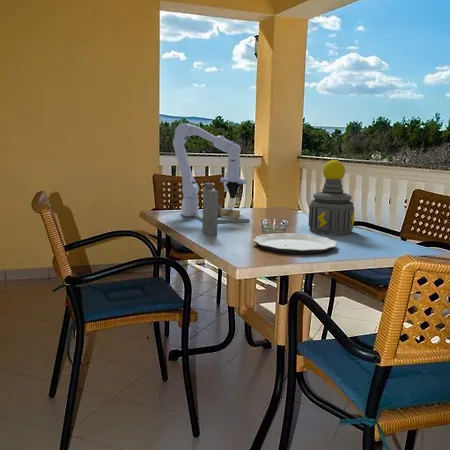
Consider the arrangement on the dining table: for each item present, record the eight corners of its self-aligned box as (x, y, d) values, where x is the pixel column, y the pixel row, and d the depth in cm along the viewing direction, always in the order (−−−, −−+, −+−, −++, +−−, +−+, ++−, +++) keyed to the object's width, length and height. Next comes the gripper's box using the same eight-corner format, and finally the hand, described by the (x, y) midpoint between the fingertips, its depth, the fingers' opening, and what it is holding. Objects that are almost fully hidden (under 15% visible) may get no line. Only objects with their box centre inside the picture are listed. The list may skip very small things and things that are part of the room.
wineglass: (219, 212, 264) (220, 171, 260) (235, 211, 268) (236, 171, 264) (226, 215, 256) (228, 172, 253) (242, 214, 260) (243, 172, 256)
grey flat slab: (193, 216, 248) (193, 213, 248) (236, 215, 256) (236, 212, 255) (205, 223, 230) (205, 219, 230) (251, 222, 237) (251, 218, 237)
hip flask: (217, 236, 202) (219, 184, 198) (207, 236, 201) (208, 184, 197) (209, 228, 217) (210, 181, 214) (199, 229, 216) (200, 181, 213)
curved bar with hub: (201, 214, 244) (202, 203, 243) (208, 213, 248) (208, 202, 247) (236, 218, 234) (236, 207, 233) (241, 217, 238) (242, 206, 237)
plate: (271, 258, 168) (271, 251, 168) (243, 240, 196) (243, 234, 195) (351, 254, 176) (352, 247, 176) (313, 238, 204) (314, 232, 204)
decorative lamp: (343, 237, 206) (348, 161, 201) (300, 231, 216) (304, 159, 211) (359, 230, 222) (364, 160, 216) (318, 225, 231) (321, 158, 226)
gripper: (216, 168, 246) (215, 197, 248) (240, 170, 237) (239, 200, 239) (226, 168, 251) (225, 196, 254) (249, 170, 242) (248, 199, 245)
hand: (232, 198), depth 247 cm, fingers closed
